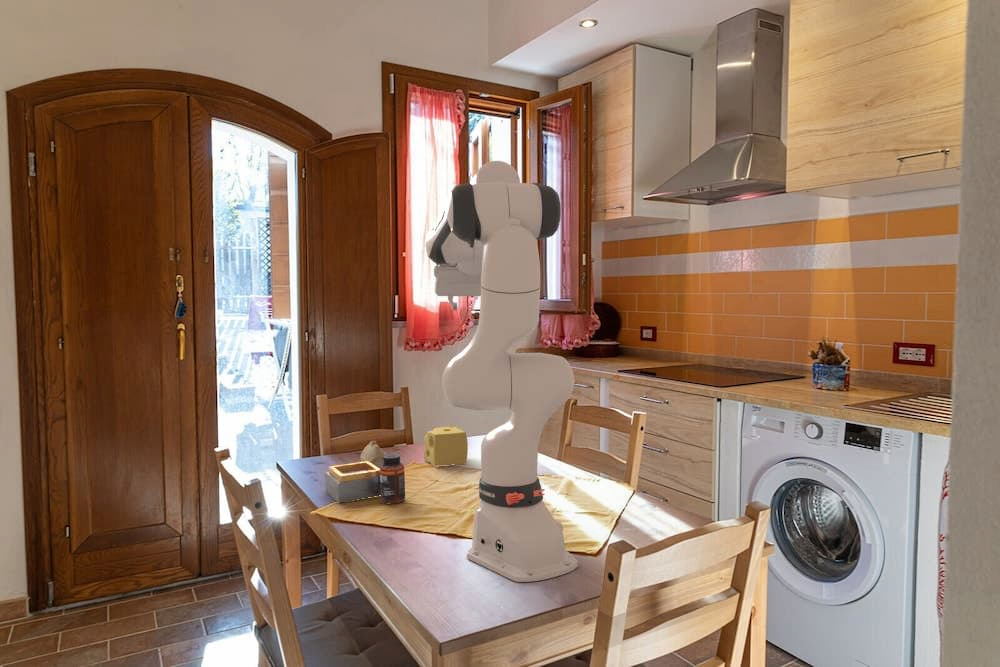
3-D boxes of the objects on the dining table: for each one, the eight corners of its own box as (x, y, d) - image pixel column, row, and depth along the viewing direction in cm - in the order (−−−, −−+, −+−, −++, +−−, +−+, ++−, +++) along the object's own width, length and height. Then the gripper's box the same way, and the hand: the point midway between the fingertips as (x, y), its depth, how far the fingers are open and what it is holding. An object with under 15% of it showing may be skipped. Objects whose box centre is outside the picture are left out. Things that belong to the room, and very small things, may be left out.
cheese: (423, 460, 200) (422, 428, 199) (456, 456, 204) (455, 425, 204) (434, 468, 190) (434, 434, 190) (468, 464, 195) (468, 431, 194)
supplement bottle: (406, 497, 163) (405, 452, 163) (403, 504, 157) (403, 458, 157) (382, 497, 163) (381, 453, 163) (379, 505, 157) (377, 459, 157)
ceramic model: (399, 479, 179) (399, 443, 179) (358, 484, 175) (357, 447, 175) (388, 467, 192) (387, 433, 192) (350, 471, 188) (349, 437, 188)
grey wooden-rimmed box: (386, 495, 165) (385, 470, 164) (338, 503, 159) (338, 477, 158) (370, 484, 175) (369, 460, 175) (325, 491, 169) (325, 466, 169)
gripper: (434, 266, 171) (433, 314, 177) (511, 266, 173) (508, 314, 179) (433, 258, 176) (433, 305, 182) (508, 258, 179) (505, 305, 185)
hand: (471, 309), depth 181 cm, fingers open, 8 cm apart
